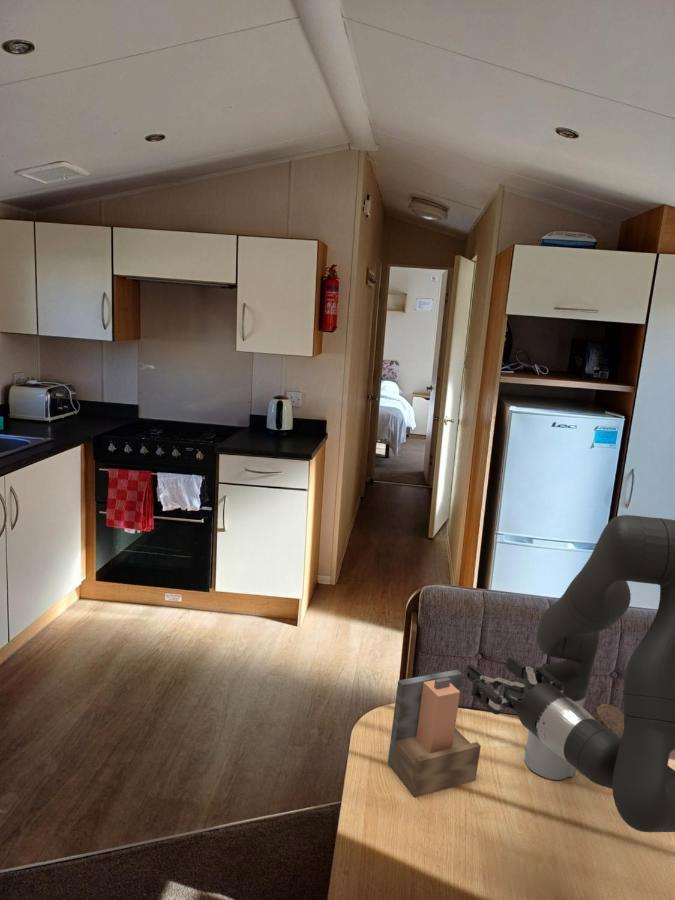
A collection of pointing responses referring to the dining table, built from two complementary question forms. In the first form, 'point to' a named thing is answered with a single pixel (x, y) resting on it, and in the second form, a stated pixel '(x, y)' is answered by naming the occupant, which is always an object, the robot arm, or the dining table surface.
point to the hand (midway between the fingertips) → (488, 665)
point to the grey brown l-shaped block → (413, 758)
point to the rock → (610, 718)
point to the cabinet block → (437, 715)
